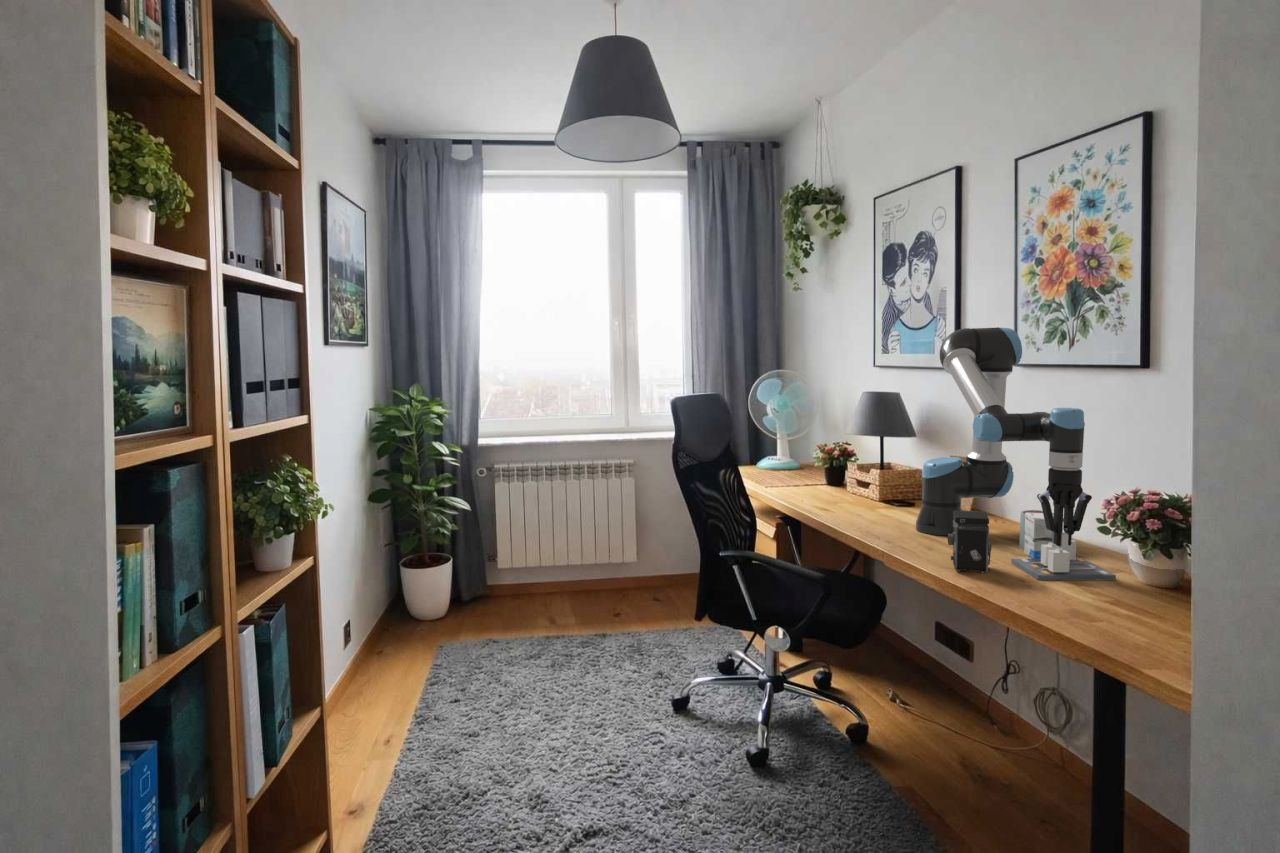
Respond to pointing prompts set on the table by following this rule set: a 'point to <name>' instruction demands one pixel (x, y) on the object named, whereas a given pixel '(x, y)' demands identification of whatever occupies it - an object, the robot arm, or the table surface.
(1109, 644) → the table surface
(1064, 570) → the tab
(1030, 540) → the ink box
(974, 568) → the camera
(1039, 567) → the grey flat board
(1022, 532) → the mug
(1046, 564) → the tab
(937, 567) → the table surface
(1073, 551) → the tab
